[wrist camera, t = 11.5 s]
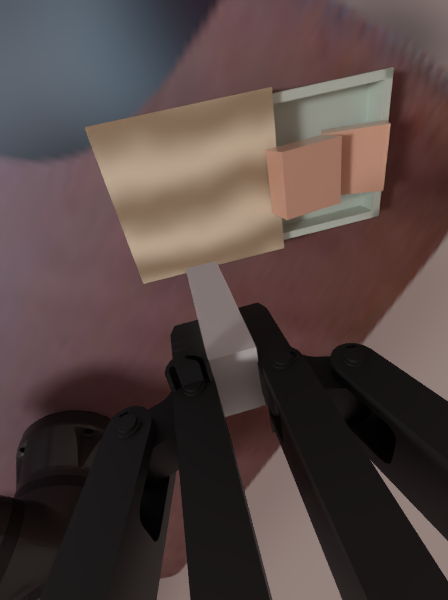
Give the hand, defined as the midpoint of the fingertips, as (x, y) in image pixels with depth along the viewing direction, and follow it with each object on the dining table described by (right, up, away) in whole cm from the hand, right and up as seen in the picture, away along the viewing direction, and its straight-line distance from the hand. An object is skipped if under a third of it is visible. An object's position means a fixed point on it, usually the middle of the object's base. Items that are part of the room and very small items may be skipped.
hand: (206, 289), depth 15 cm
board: (-2, +11, +18) cm, 21 cm away
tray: (+11, +15, +19) cm, 26 cm away
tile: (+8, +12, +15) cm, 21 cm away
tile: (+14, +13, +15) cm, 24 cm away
